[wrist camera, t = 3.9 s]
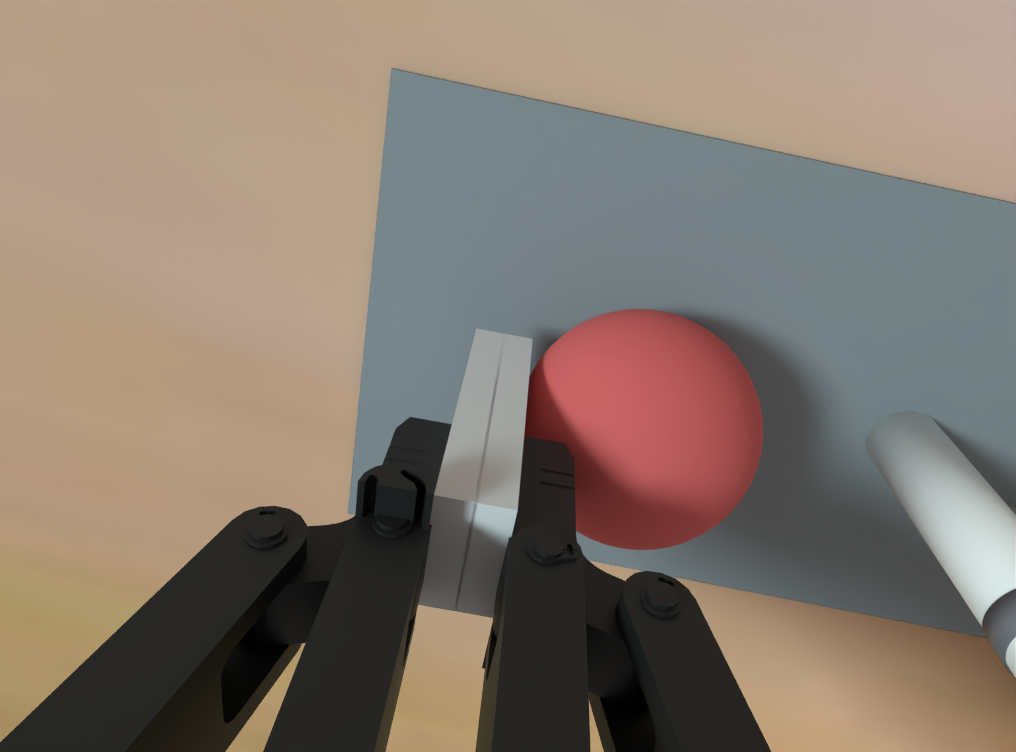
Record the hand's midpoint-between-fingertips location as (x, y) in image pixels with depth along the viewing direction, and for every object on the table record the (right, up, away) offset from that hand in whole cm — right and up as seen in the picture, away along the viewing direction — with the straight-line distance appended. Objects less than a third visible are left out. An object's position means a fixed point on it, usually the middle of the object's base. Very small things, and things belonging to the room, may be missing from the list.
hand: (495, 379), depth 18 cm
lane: (+9, -1, +2) cm, 9 cm away
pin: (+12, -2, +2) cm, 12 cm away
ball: (+4, -1, -1) cm, 4 cm away
